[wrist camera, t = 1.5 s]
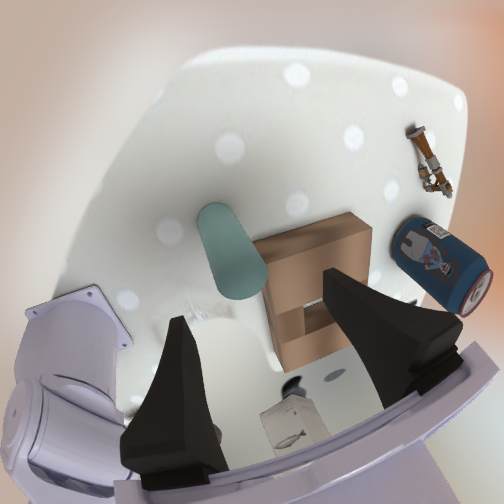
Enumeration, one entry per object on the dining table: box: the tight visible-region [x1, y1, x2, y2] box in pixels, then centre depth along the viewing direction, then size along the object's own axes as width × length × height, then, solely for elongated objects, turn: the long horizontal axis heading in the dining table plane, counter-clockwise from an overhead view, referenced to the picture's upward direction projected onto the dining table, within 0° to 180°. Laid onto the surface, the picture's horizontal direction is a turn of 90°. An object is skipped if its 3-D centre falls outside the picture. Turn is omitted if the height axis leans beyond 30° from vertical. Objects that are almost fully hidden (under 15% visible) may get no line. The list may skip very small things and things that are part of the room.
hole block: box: [253, 212, 372, 373], centre depth 28 cm, size 10×16×4 cm, turn 10°
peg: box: [197, 203, 268, 300], centre depth 19 cm, size 3×3×8 cm
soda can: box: [393, 218, 493, 318], centre depth 26 cm, size 7×7×12 cm
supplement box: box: [260, 394, 331, 475], centre depth 38 cm, size 7×7×13 cm
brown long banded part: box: [406, 126, 453, 198], centre depth 24 cm, size 2×8×4 cm, turn 33°
